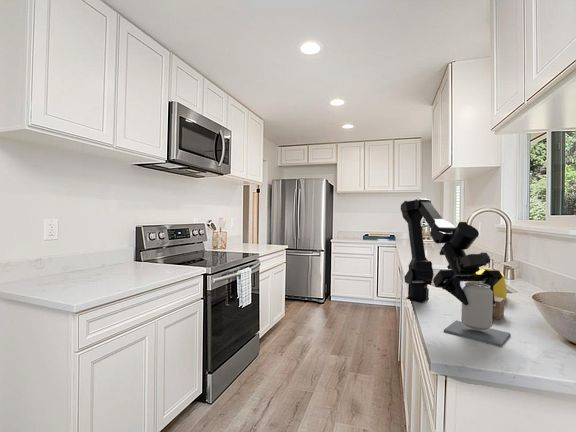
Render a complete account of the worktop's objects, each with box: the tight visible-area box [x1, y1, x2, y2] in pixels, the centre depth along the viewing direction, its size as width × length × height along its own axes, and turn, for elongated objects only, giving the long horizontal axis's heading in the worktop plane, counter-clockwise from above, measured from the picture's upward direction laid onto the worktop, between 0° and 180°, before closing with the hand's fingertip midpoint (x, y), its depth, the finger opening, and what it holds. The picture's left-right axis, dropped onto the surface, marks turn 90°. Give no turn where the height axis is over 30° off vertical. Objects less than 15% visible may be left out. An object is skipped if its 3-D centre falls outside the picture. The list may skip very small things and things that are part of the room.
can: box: [460, 281, 493, 330], centre depth 91 cm, size 8×8×12 cm
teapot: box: [470, 267, 507, 303], centre depth 130 cm, size 20×12×12 cm, turn 149°
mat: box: [443, 319, 511, 348], centre depth 91 cm, size 14×11×1 cm
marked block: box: [492, 297, 505, 321], centre depth 106 cm, size 6×6×6 cm
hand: (480, 304), depth 89 cm, fingers closed on can, 7 cm apart
